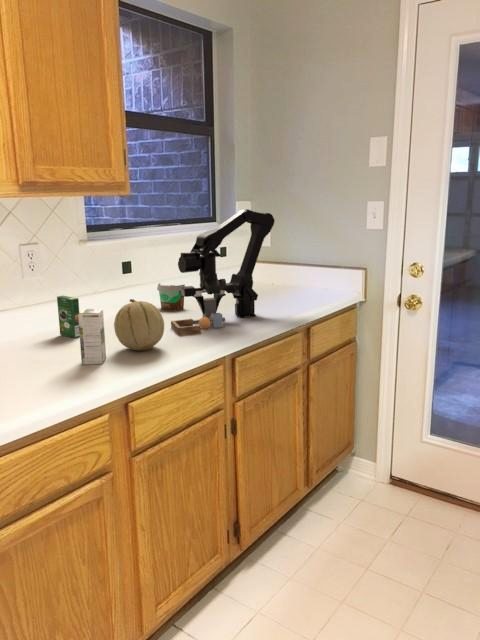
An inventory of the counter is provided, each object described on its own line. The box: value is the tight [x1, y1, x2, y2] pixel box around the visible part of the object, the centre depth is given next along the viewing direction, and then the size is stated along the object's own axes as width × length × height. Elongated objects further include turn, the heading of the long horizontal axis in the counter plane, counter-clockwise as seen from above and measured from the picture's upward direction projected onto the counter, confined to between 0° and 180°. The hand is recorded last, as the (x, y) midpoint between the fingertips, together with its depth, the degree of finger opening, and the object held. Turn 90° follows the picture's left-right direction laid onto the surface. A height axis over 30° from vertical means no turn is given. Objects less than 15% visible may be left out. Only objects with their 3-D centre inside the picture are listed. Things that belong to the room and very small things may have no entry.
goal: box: [170, 318, 202, 336], centre depth 180 cm, size 8×11×2 cm
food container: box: [156, 282, 186, 312], centre depth 213 cm, size 12×6×10 cm, turn 68°
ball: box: [198, 316, 212, 330], centre depth 182 cm, size 4×4×4 cm
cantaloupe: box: [113, 298, 165, 352], centre depth 157 cm, size 15×15×15 cm
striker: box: [202, 297, 223, 329], centre depth 187 cm, size 4×12×8 cm, turn 19°
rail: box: [193, 316, 226, 325], centre depth 191 cm, size 15×1×1 cm, turn 109°
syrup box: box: [78, 307, 107, 366], centre depth 146 cm, size 6×6×14 cm
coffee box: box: [56, 295, 80, 339], centre depth 174 cm, size 8×3×13 cm, turn 54°
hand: (209, 313), depth 191 cm, fingers closed on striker, 4 cm apart
